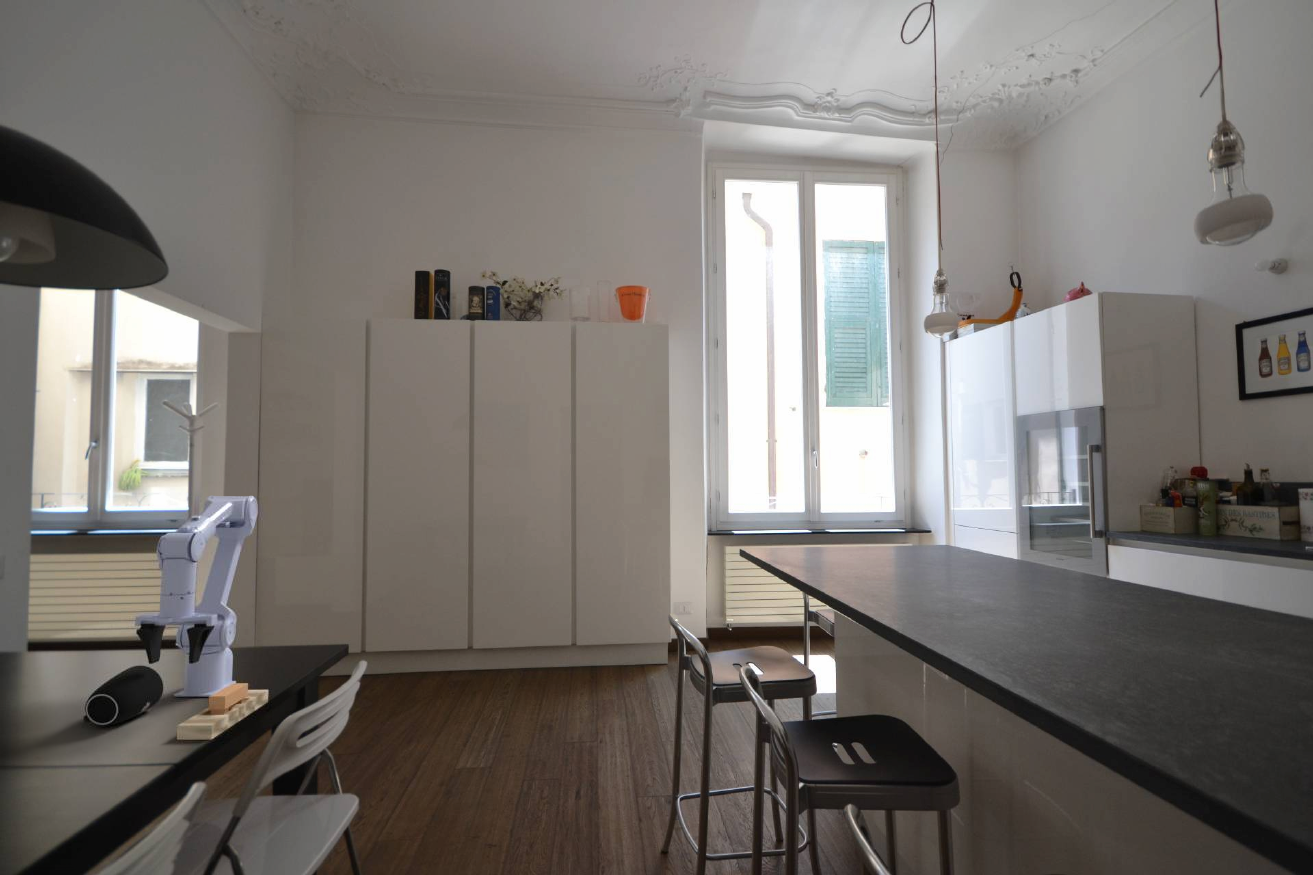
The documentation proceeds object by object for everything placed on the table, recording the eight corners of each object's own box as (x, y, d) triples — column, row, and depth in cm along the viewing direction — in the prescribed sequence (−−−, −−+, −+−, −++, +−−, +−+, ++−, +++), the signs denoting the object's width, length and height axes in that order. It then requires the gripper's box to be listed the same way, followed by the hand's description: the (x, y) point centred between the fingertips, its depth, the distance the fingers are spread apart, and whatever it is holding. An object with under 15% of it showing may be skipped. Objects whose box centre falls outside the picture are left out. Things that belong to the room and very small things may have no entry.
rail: (238, 701, 142) (238, 689, 142) (267, 701, 142) (268, 689, 143) (176, 739, 122) (177, 725, 122) (211, 739, 123) (212, 725, 123)
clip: (231, 710, 137) (232, 683, 137) (246, 710, 137) (248, 683, 137) (207, 725, 129) (209, 696, 129) (224, 725, 129) (225, 696, 129)
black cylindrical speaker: (136, 717, 127) (172, 694, 137) (110, 676, 126) (148, 656, 136) (79, 749, 126) (120, 724, 136) (53, 709, 126) (95, 686, 136)
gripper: (125, 596, 131) (121, 668, 130) (204, 596, 132) (200, 667, 131) (150, 590, 138) (146, 658, 137) (224, 590, 139) (220, 658, 138)
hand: (174, 662), depth 135 cm, fingers open, 7 cm apart
